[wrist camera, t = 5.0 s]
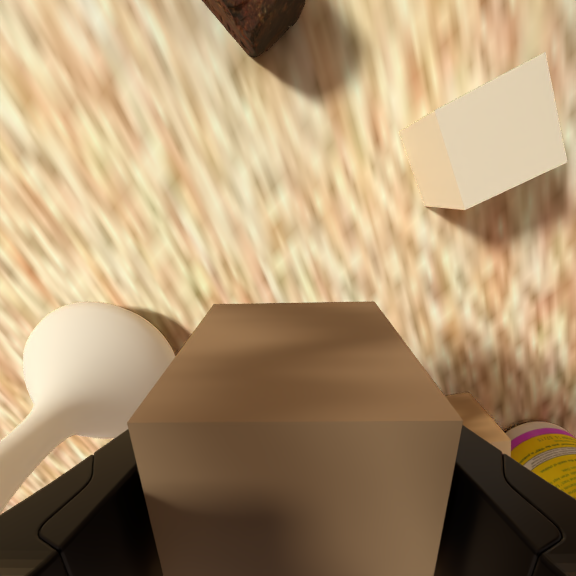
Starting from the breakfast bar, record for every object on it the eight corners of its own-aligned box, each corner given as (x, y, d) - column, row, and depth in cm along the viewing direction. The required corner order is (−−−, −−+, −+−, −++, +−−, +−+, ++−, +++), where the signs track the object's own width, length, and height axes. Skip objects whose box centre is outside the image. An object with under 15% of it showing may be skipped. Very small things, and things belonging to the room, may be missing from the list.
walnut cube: (374, 301, 9) (463, 420, 4) (365, 431, 11) (423, 625, 6) (214, 304, 9) (127, 423, 4) (227, 432, 11) (174, 623, 6)
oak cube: (468, 391, 24) (511, 440, 19) (469, 439, 25) (509, 495, 21) (406, 400, 24) (433, 450, 20) (410, 447, 26) (437, 504, 21)
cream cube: (477, 90, 18) (545, 51, 13) (498, 170, 19) (567, 162, 14) (398, 132, 18) (434, 110, 14) (423, 206, 20) (465, 210, 15)
